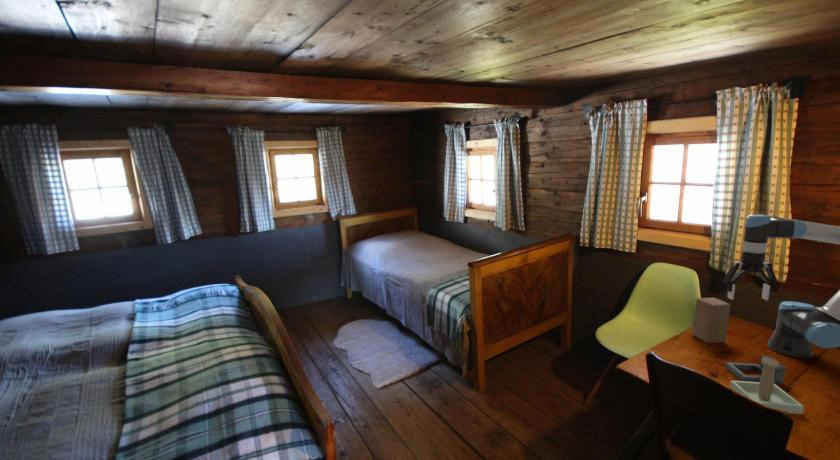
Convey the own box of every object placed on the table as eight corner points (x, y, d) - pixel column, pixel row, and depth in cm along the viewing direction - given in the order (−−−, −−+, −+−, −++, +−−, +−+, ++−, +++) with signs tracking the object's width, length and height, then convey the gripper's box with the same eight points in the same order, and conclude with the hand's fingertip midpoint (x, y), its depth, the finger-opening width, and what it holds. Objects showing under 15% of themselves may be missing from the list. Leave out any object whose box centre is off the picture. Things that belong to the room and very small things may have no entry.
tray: (772, 390, 147) (773, 383, 146) (802, 414, 133) (803, 406, 132) (729, 387, 149) (730, 380, 148) (754, 410, 135) (755, 402, 135)
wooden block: (690, 334, 193) (695, 297, 189) (709, 333, 194) (714, 296, 190) (707, 344, 183) (712, 305, 179) (726, 343, 184) (732, 304, 180)
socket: (764, 369, 160) (767, 354, 159) (785, 385, 150) (788, 368, 149) (725, 367, 163) (727, 352, 161) (742, 382, 152) (745, 366, 151)
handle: (755, 400, 140) (762, 363, 137) (755, 391, 145) (761, 355, 142) (773, 405, 137) (780, 367, 134) (772, 396, 142) (778, 360, 139)
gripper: (779, 249, 162) (772, 296, 166) (716, 249, 165) (710, 295, 169) (794, 253, 155) (786, 302, 159) (727, 253, 158) (721, 301, 162)
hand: (747, 298), depth 164 cm, fingers open, 13 cm apart
